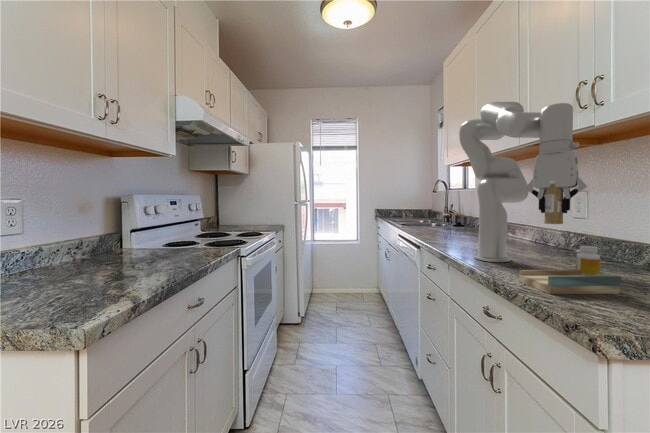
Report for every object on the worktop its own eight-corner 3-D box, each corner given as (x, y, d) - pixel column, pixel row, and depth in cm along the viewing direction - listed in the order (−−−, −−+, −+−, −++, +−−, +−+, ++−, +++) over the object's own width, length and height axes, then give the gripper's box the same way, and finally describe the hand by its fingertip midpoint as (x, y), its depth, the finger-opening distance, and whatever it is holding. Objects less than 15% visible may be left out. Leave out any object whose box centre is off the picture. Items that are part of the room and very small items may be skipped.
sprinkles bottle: (566, 224, 85) (567, 176, 84) (547, 224, 86) (549, 176, 85) (558, 223, 89) (559, 177, 89) (540, 223, 90) (541, 178, 90)
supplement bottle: (604, 281, 88) (606, 248, 88) (585, 281, 88) (587, 248, 88) (588, 276, 94) (590, 245, 93) (570, 276, 94) (572, 245, 93)
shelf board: (518, 280, 89) (519, 266, 88) (579, 280, 89) (580, 265, 89) (549, 294, 77) (550, 277, 76) (619, 293, 77) (620, 276, 77)
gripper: (596, 146, 83) (594, 213, 84) (524, 154, 95) (523, 212, 96) (592, 142, 78) (590, 213, 79) (517, 151, 90) (516, 212, 91)
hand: (553, 212), depth 87 cm, fingers closed on sprinkles bottle, 4 cm apart
